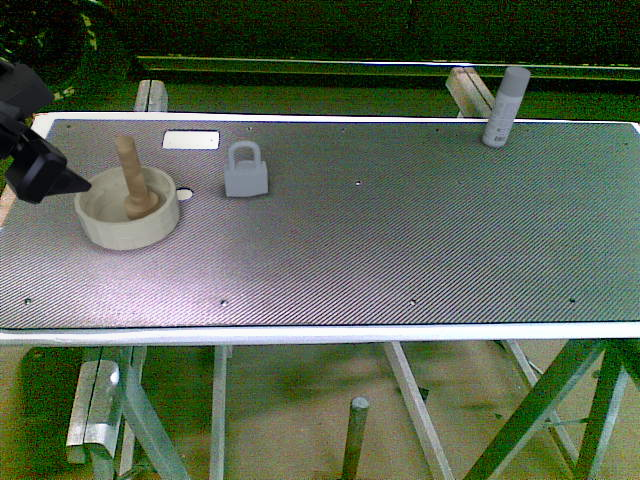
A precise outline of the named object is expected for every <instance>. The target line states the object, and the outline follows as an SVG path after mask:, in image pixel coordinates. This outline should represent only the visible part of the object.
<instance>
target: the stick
mask: <svg viewBox="0 0 640 480" xmlns="http://www.w3.org/2000/svg"><path fill="white" fill-rule="evenodd" d="M114 147H115V150H116V153H117V156H118V159H119V163H120V166H122V170H123V173H124V177H125V180H126V183H127V187H128V190H129V195H128V196H127V197H126V198H125V199H124V202H123V204H124V208H125V211H126V214H127V217H128V219H130V220H131V221H134V220H138V219H141V218H144V217H146V216H148V215H150V214H152V213H154V212H156V211H157V210H158V209H160V204H159V200H158V197H157V195H156V194H155V193H154V192H151V191H147V188H146V184H145V180H144V177H143V173H142V169H141V165H142V164H141V162H140V158H139V154H138V153H139V152H138V150H137V145H136V143H135V138H134V137H133V136H131V135H121V136H119V137H117V138H115V139H114Z"/></svg>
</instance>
